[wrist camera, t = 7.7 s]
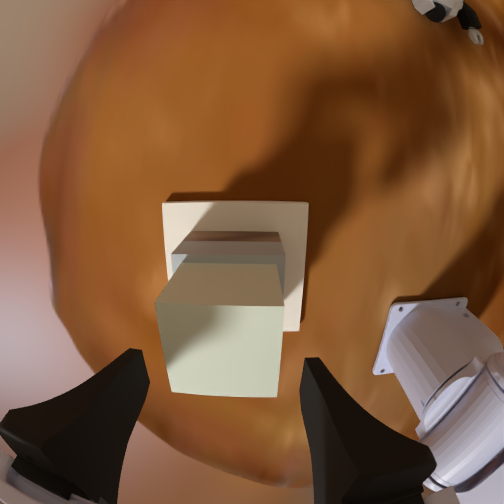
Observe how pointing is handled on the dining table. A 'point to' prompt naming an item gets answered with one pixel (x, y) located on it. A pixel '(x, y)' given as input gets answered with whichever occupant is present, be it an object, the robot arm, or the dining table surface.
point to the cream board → (247, 219)
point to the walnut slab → (233, 236)
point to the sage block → (222, 329)
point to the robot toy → (452, 15)
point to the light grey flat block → (231, 254)
